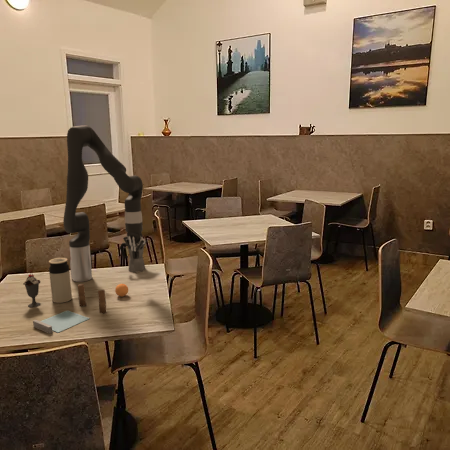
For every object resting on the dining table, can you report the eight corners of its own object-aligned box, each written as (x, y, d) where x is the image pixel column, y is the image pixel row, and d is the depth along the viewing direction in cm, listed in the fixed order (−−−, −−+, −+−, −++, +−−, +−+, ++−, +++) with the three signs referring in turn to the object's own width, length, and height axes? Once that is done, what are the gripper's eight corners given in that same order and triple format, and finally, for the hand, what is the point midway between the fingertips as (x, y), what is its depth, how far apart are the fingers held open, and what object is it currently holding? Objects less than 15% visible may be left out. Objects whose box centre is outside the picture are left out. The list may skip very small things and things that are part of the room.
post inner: (78, 305, 176) (76, 285, 174) (83, 303, 178) (81, 283, 176) (82, 306, 175) (80, 286, 173) (87, 304, 177) (85, 284, 175)
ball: (113, 296, 185) (112, 284, 184) (122, 292, 190) (121, 281, 188) (121, 299, 182) (120, 287, 181) (131, 295, 186) (130, 283, 185)
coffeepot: (143, 264, 230) (142, 232, 226) (152, 269, 222) (150, 236, 219) (117, 270, 220) (115, 237, 216) (125, 275, 213) (123, 241, 209)
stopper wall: (33, 326, 157) (32, 320, 156) (36, 325, 158) (35, 319, 157) (49, 333, 151) (48, 327, 151) (52, 332, 152) (51, 326, 152)
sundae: (37, 300, 182) (34, 267, 179) (45, 304, 178) (42, 270, 174) (22, 305, 177) (18, 271, 174) (30, 309, 173) (26, 274, 169)
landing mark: (35, 323, 160) (35, 323, 160) (67, 310, 171) (67, 310, 171) (58, 332, 152) (58, 332, 152) (89, 318, 163) (89, 318, 163)
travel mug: (65, 304, 178) (61, 263, 174) (48, 302, 179) (44, 262, 176) (75, 296, 185) (71, 257, 182) (59, 295, 187) (55, 257, 183)
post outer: (98, 312, 169) (96, 291, 167) (103, 310, 171) (101, 289, 169) (102, 313, 168) (100, 292, 166) (107, 311, 170) (106, 290, 168)
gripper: (117, 220, 187) (119, 258, 191) (138, 224, 180) (140, 262, 183) (129, 218, 193) (131, 254, 197) (150, 221, 186) (152, 258, 190)
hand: (136, 258), depth 190 cm, fingers closed
